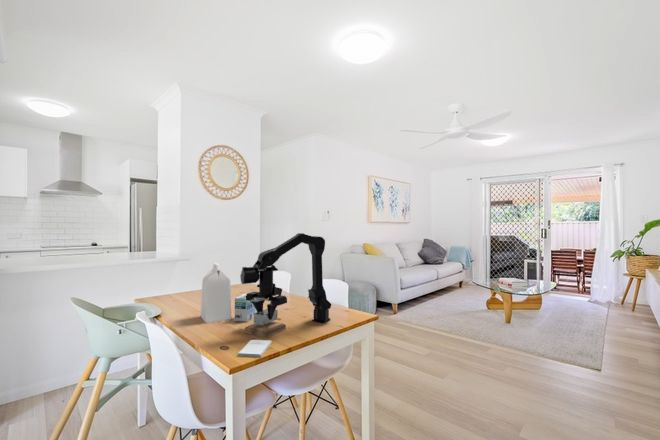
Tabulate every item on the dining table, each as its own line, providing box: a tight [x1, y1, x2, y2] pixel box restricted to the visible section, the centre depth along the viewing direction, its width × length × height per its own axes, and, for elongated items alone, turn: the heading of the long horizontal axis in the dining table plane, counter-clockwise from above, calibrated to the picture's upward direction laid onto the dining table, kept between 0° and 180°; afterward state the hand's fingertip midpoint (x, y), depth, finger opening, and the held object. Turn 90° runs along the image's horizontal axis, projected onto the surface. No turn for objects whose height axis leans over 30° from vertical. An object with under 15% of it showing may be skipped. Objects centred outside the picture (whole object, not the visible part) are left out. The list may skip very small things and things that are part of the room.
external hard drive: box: [237, 339, 272, 358], centre depth 106 cm, size 2×8×12 cm
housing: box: [253, 308, 278, 325], centre depth 126 cm, size 9×5×5 cm, turn 150°
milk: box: [200, 262, 233, 324], centre depth 143 cm, size 12×12×26 cm
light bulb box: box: [234, 293, 257, 323], centre depth 143 cm, size 11×7×11 cm, turn 168°
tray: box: [244, 320, 287, 339], centre depth 125 cm, size 12×12×2 cm
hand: (265, 318), depth 126 cm, fingers closed on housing, 5 cm apart
